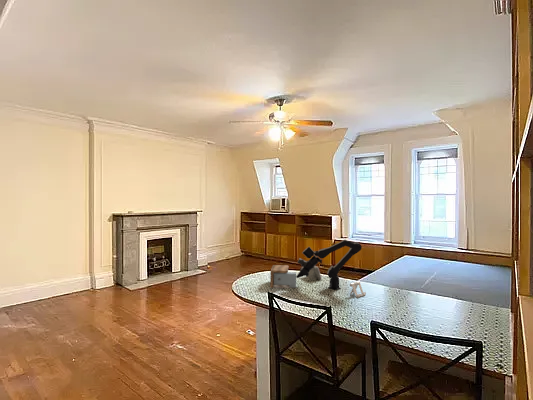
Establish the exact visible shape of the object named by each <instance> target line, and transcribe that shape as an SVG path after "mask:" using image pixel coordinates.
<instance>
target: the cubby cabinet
mask: <svg viewBox="0 0 533 400" xmlns="http://www.w3.org/2000/svg"><path fill="white" fill-rule="evenodd" d="M289 267H290V266H289V265H287V264H284V265H282V264H281V265H280V264H272V266H271V268H270V281H269V282H270V286H269V287H270V289H271V288H272V289H273V288H279V289H280V288H281V289H282V288H283V289H290V287H289V285H274V272H275V273H287V272H289Z"/></svg>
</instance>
